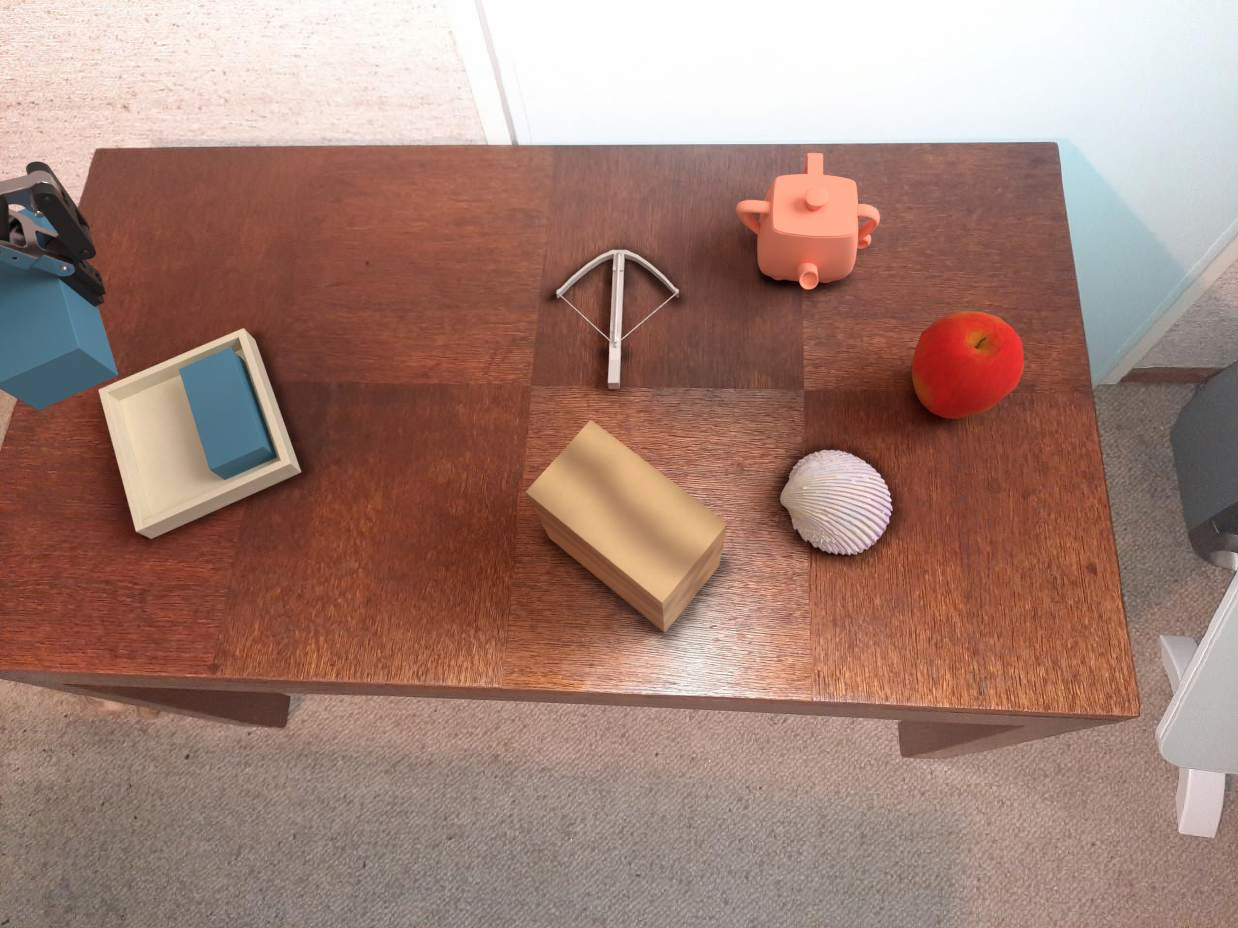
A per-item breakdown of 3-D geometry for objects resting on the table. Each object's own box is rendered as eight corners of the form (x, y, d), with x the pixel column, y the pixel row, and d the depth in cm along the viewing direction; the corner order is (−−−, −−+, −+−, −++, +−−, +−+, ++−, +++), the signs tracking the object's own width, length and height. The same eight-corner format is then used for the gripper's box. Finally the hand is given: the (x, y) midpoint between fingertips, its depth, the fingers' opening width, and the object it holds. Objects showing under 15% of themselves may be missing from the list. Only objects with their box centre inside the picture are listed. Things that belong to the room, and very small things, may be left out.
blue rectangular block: (38, 411, 55) (-9, 385, 52) (1, 270, 59) (-44, 236, 56) (119, 375, 56) (79, 347, 52) (77, 238, 60) (37, 202, 56)
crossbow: (561, 259, 92) (559, 247, 90) (679, 258, 91) (679, 246, 90) (551, 389, 86) (548, 379, 84) (677, 389, 85) (677, 379, 83)
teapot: (798, 325, 87) (812, 273, 78) (725, 247, 91) (730, 188, 82) (884, 265, 89) (908, 207, 80) (809, 190, 92) (824, 127, 83)
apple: (1005, 374, 84) (1056, 311, 72) (976, 452, 81) (1024, 400, 70) (913, 339, 86) (949, 273, 74) (882, 415, 83) (914, 358, 72)
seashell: (774, 440, 79) (886, 430, 77) (781, 461, 84) (886, 452, 82) (779, 546, 76) (898, 539, 73) (786, 561, 81) (897, 556, 78)
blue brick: (225, 480, 84) (209, 470, 82) (194, 382, 88) (178, 369, 86) (277, 457, 85) (263, 446, 82) (244, 360, 89) (230, 347, 86)
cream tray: (151, 539, 83) (135, 531, 81) (113, 400, 89) (97, 389, 87) (301, 472, 85) (290, 463, 82) (255, 339, 90) (243, 327, 88)
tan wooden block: (664, 633, 77) (662, 603, 64) (549, 538, 81) (524, 492, 68) (719, 565, 79) (727, 523, 66) (604, 476, 83) (590, 419, 70)
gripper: (-328, 254, 40) (-41, 402, 56) (-27, 137, 41) (169, 314, 57) (-335, 138, 42) (-59, 311, 58) (-52, 31, 44) (143, 229, 59)
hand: (53, 312), depth 57 cm, fingers closed on blue rectangular block, 5 cm apart
